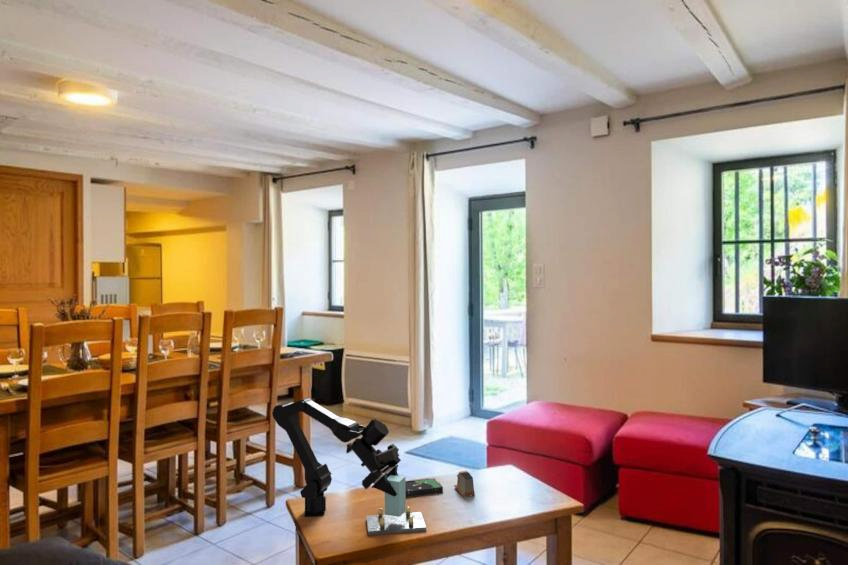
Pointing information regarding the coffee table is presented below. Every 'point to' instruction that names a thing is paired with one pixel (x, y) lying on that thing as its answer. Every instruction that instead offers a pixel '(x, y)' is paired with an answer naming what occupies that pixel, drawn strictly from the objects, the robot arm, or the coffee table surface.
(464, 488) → the electronic device
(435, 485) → the disk drive
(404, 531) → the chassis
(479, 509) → the coffee table surface
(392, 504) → the teal block
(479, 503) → the coffee table surface
